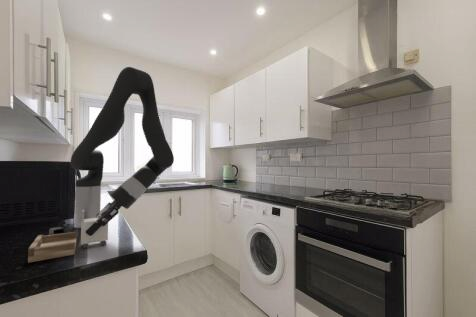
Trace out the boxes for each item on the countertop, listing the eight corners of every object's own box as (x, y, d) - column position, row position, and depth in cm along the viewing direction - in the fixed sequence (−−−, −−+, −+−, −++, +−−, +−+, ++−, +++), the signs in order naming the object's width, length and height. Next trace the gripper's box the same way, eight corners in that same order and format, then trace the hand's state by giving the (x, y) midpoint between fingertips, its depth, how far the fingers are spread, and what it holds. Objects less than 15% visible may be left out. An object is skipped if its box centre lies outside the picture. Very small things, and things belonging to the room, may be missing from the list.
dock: (37, 247, 71) (38, 235, 71) (76, 241, 76) (76, 230, 76) (27, 262, 59) (28, 248, 59) (74, 254, 65) (74, 241, 65)
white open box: (81, 244, 73) (81, 209, 73) (106, 240, 77) (107, 207, 77) (80, 249, 68) (81, 212, 69) (107, 245, 72) (108, 209, 73)
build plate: (75, 241, 77) (76, 228, 77) (49, 248, 71) (50, 233, 71) (61, 235, 84) (61, 223, 84) (36, 241, 78) (36, 228, 78)
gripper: (118, 183, 83) (78, 220, 76) (123, 186, 71) (76, 230, 64) (134, 196, 86) (96, 233, 79) (141, 201, 74) (98, 245, 67)
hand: (88, 231), depth 72 cm, fingers closed on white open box, 5 cm apart
